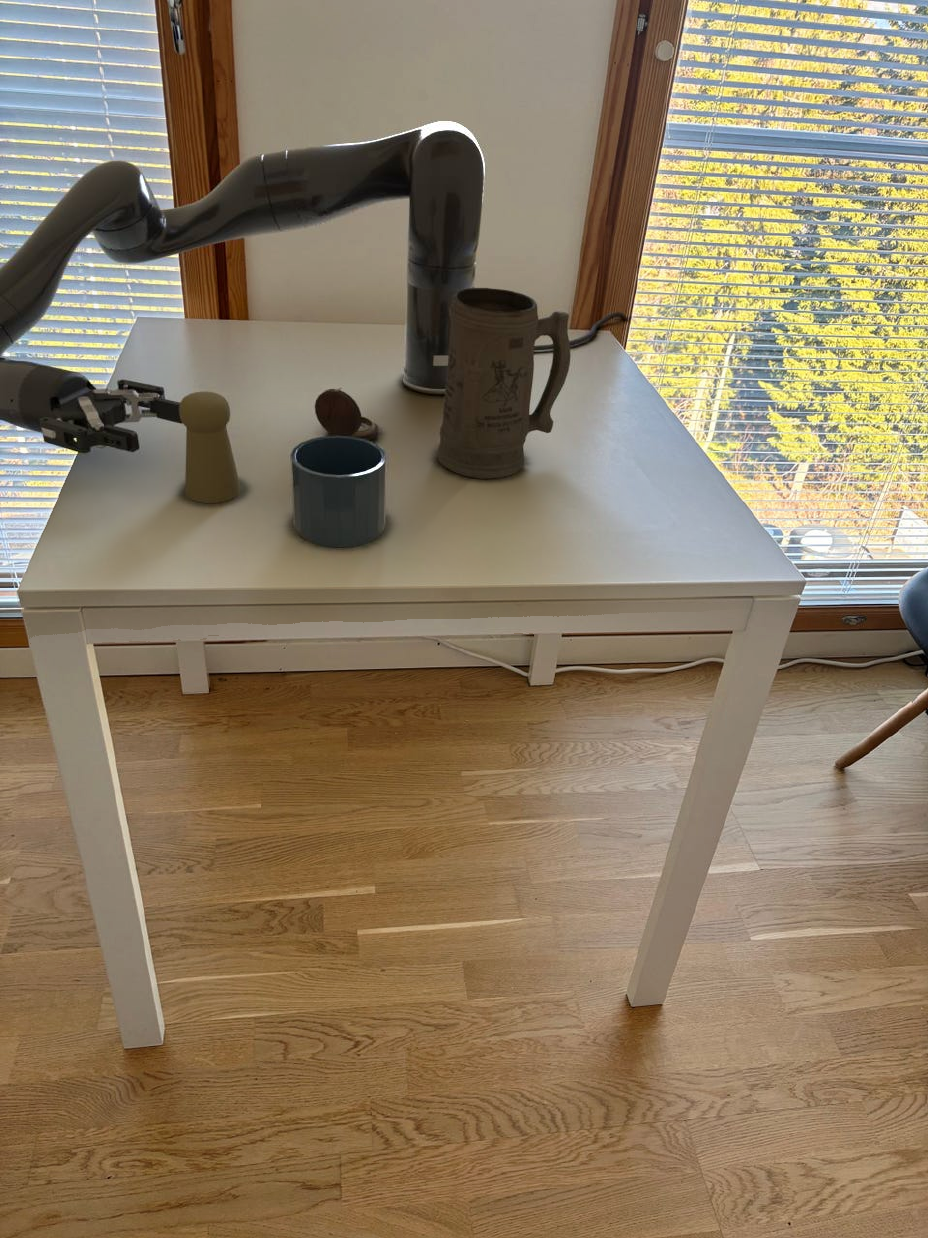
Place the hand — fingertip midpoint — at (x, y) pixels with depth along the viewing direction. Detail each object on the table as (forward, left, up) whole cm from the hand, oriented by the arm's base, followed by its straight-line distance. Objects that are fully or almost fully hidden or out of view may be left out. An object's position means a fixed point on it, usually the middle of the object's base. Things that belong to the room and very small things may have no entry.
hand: (161, 427), depth 98 cm
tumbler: (-12, +18, -6) cm, 22 cm away
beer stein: (-37, +12, -6) cm, 40 cm away
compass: (-23, -2, -6) cm, 24 cm away
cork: (-3, +5, -6) cm, 9 cm away
